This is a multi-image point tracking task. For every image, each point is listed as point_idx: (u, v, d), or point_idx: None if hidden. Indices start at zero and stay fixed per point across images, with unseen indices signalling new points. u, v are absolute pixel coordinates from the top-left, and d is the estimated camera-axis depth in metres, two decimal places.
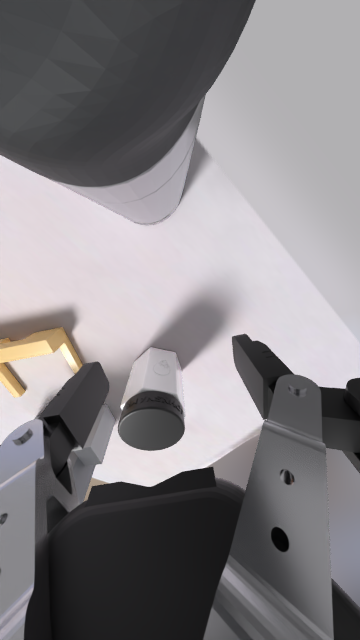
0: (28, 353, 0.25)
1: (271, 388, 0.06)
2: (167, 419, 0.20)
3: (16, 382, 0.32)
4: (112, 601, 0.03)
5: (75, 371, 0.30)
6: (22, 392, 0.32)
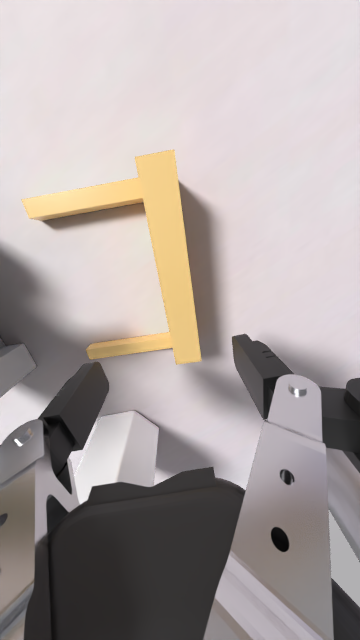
0: (177, 327, 0.14)
1: (271, 388, 0.06)
2: None
3: (69, 214, 0.14)
4: (112, 601, 0.03)
5: (117, 348, 0.17)
6: (39, 219, 0.14)
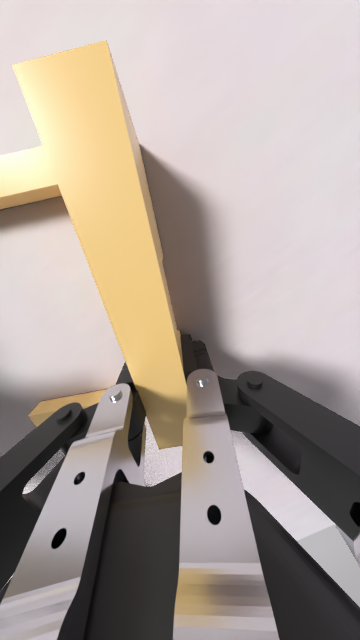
0: (155, 400, 0.08)
1: None
2: None
3: None
4: (112, 601, 0.03)
5: None
6: None
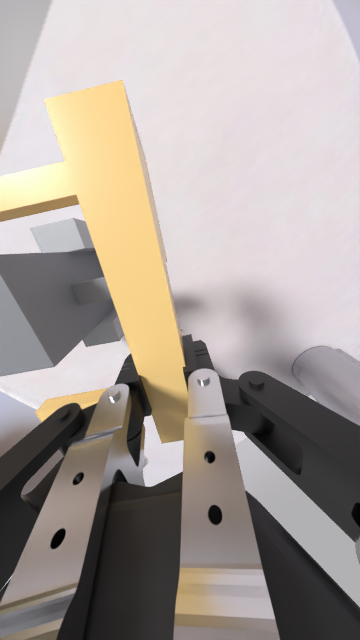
0: (159, 393, 0.08)
1: None
2: None
3: None
4: (112, 601, 0.03)
5: None
6: None
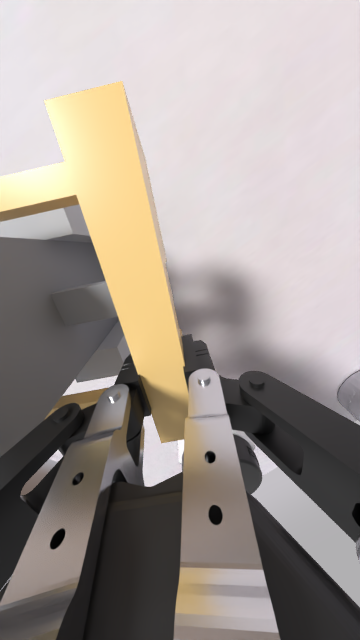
0: (159, 393, 0.08)
1: None
2: None
3: None
4: (112, 601, 0.03)
5: None
6: None
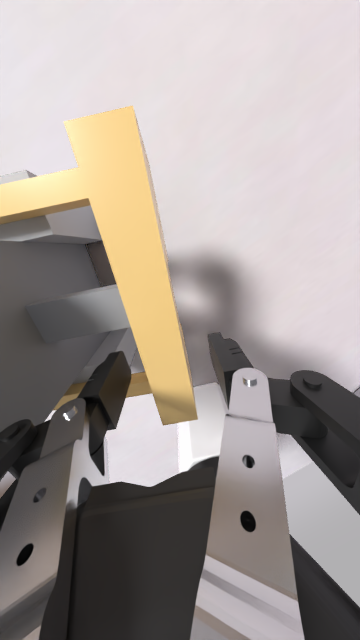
0: (161, 380, 0.09)
1: (231, 380, 0.07)
2: None
3: None
4: (113, 600, 0.03)
5: None
6: None
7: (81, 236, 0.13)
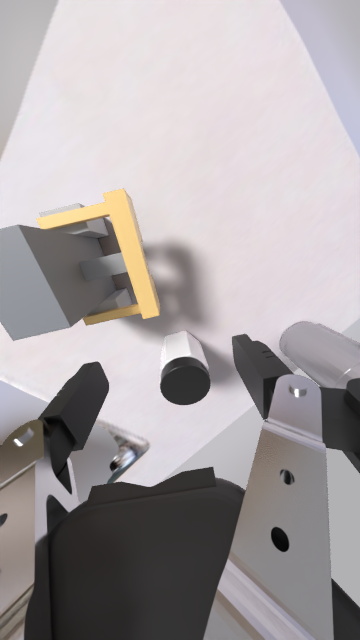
0: (140, 292, 0.21)
1: (271, 388, 0.06)
2: (198, 395, 0.28)
3: (66, 226, 0.21)
4: (112, 600, 0.03)
5: (104, 315, 0.25)
6: (47, 229, 0.21)
7: (98, 232, 0.25)
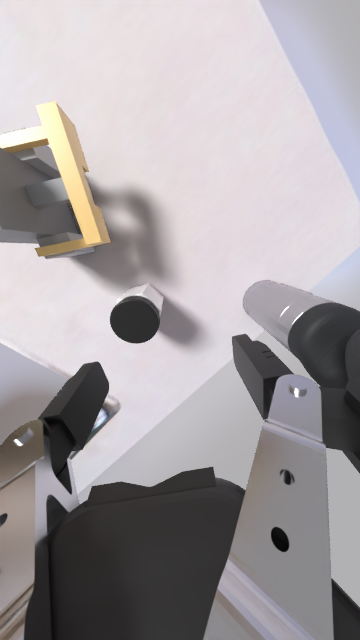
0: (81, 215, 0.23)
1: (271, 388, 0.06)
2: (147, 333, 0.30)
3: (14, 150, 0.23)
4: (112, 601, 0.03)
5: (55, 246, 0.27)
6: None
7: (52, 167, 0.26)
